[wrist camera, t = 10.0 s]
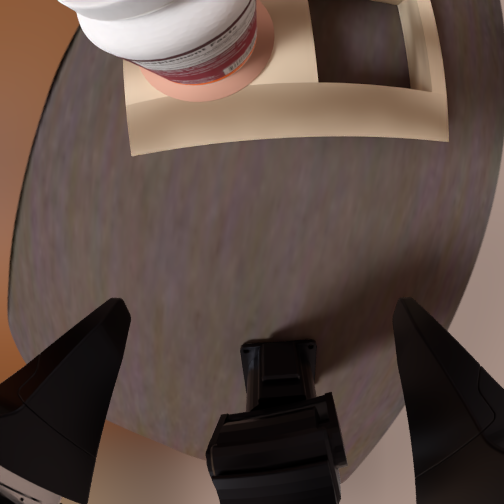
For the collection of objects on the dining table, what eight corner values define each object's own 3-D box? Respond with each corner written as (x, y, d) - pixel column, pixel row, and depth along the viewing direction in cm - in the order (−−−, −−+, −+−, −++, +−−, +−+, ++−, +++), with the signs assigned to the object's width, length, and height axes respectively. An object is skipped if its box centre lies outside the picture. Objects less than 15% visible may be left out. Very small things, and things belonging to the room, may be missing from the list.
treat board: (426, 138, 18) (451, 142, 15) (148, 152, 19) (129, 156, 16) (407, -4, 14) (427, -18, 10) (138, 2, 15) (121, -14, 11)
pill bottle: (147, 8, 12) (45, -78, 2) (252, -10, 12) (243, -139, 2) (153, 97, 15) (18, 71, 5) (262, 81, 14) (269, -3, 4)
